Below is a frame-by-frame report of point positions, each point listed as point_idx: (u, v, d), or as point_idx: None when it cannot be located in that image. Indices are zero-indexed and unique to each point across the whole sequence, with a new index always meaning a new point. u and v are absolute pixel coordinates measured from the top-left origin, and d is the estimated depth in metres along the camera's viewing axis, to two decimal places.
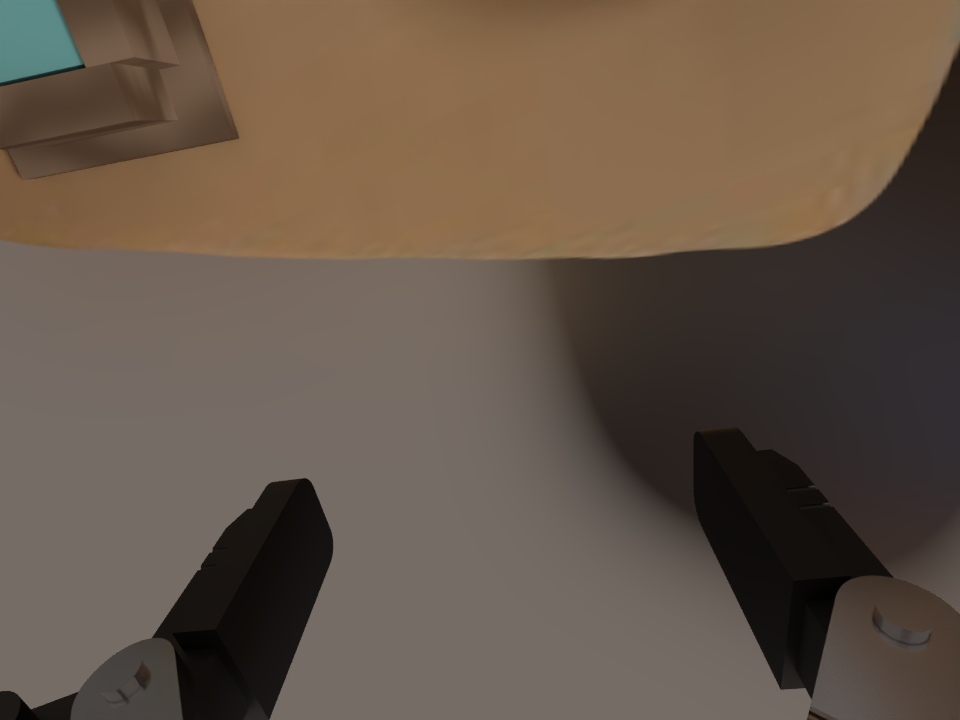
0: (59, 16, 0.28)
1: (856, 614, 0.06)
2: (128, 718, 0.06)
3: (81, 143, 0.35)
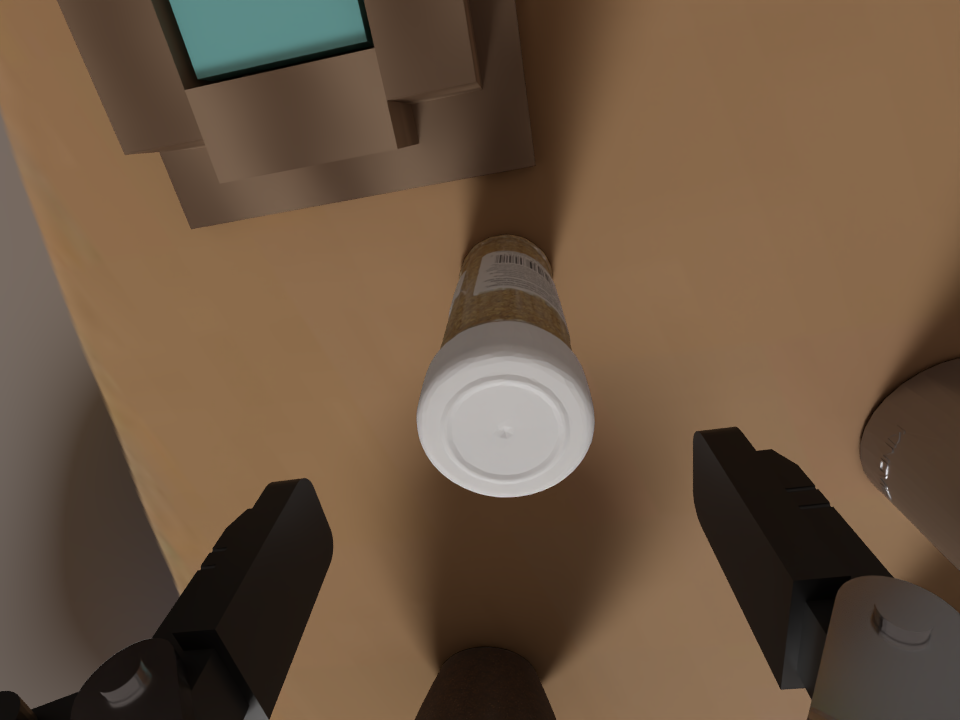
0: (259, 54, 0.17)
1: (856, 614, 0.06)
2: (128, 718, 0.06)
3: None
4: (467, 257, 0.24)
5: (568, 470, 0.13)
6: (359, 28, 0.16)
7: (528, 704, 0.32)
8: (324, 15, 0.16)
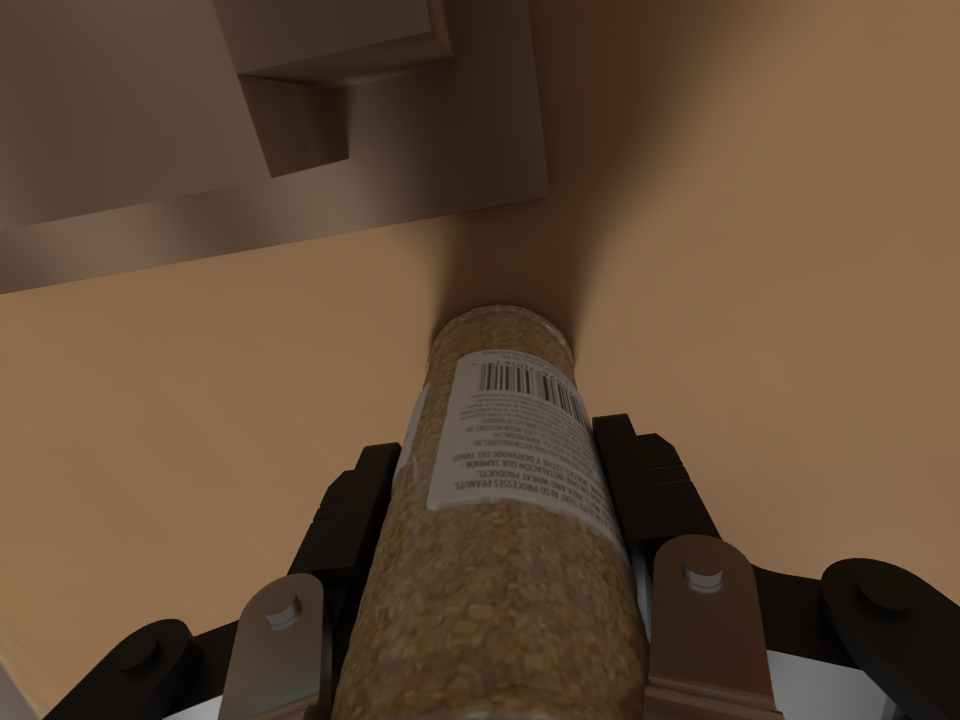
0: None
1: (668, 565, 0.07)
2: (278, 646, 0.07)
3: None
4: (437, 340, 0.15)
5: None
6: None
7: None
8: None
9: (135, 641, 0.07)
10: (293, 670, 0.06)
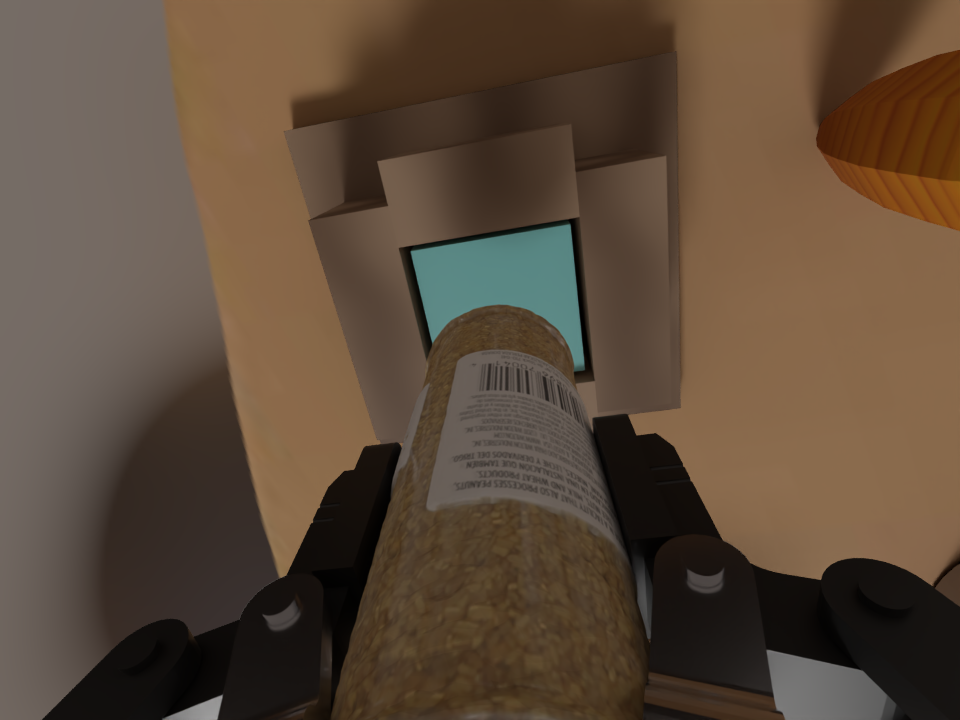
0: None
1: (668, 564, 0.07)
2: (278, 646, 0.07)
3: None
4: (437, 340, 0.15)
5: None
6: (580, 362, 0.21)
7: None
8: None
9: (135, 642, 0.07)
10: (293, 670, 0.06)
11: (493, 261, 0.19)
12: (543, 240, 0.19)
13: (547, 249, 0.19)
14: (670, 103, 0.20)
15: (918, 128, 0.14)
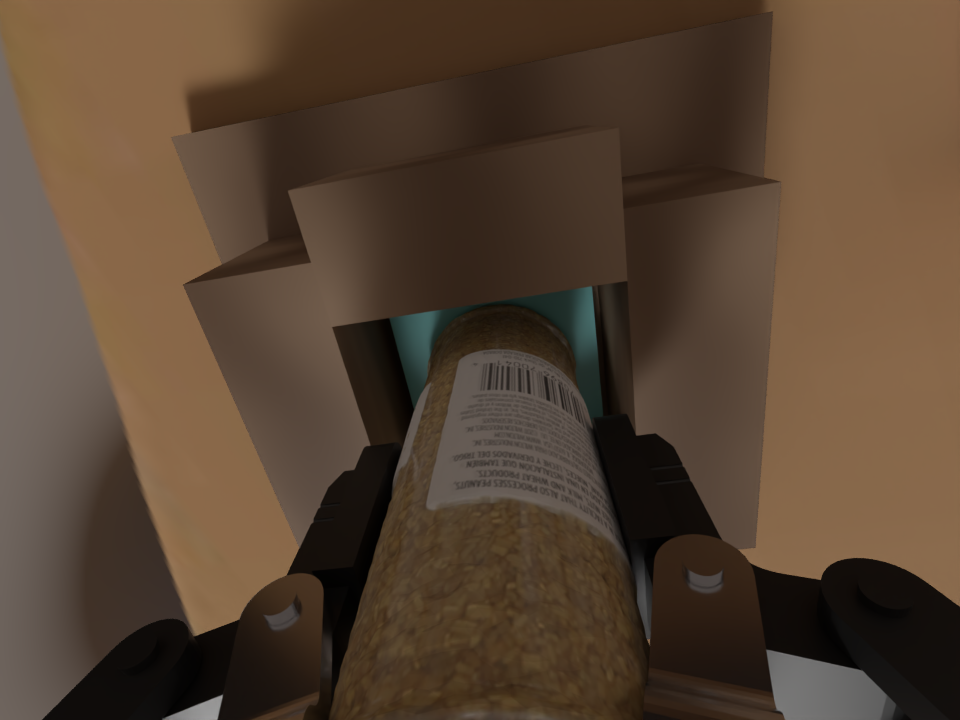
0: None
1: (668, 564, 0.07)
2: (278, 646, 0.07)
3: None
4: (439, 340, 0.15)
5: None
6: None
7: None
8: None
9: (135, 642, 0.07)
10: (293, 670, 0.06)
11: (488, 303, 0.15)
12: None
13: None
14: (758, 94, 0.13)
15: None
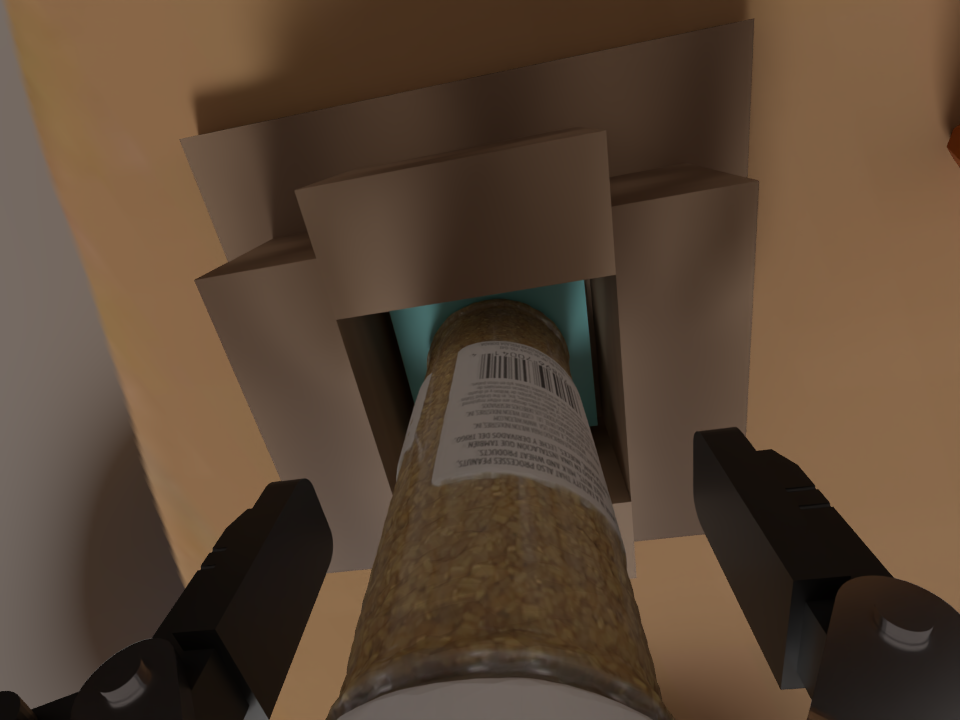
0: None
1: (856, 614, 0.06)
2: (128, 718, 0.06)
3: None
4: (438, 333, 0.15)
5: None
6: (592, 416, 0.17)
7: None
8: None
9: None
10: None
11: (485, 298, 0.15)
12: None
13: None
14: (741, 97, 0.14)
15: None
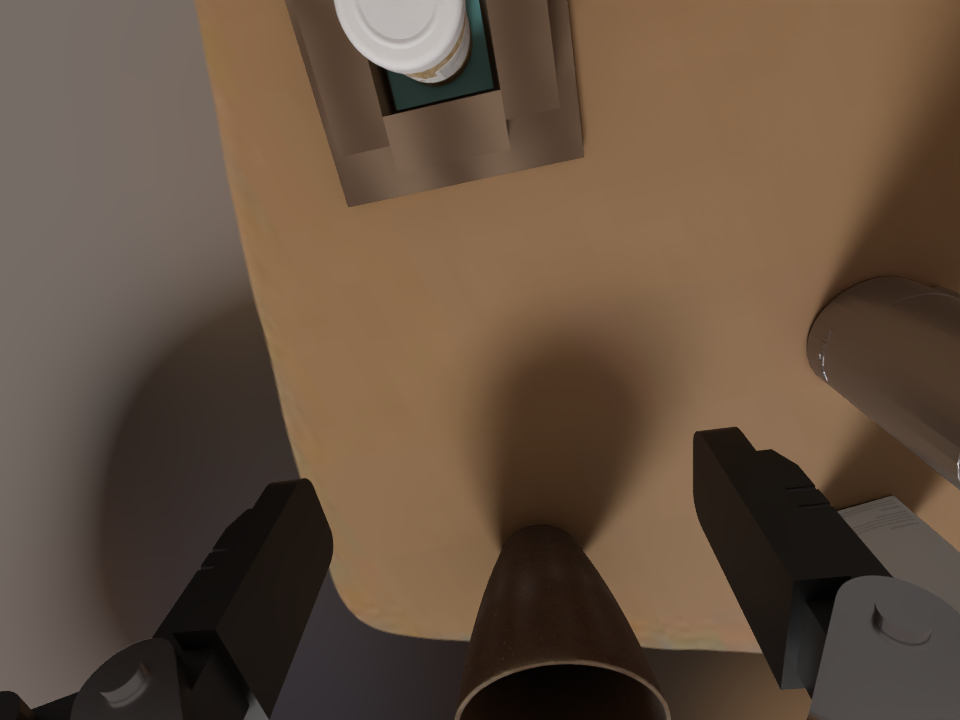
0: (433, 95, 0.30)
1: (856, 614, 0.06)
2: (128, 718, 0.06)
3: None
4: None
5: (447, 31, 0.18)
6: (489, 81, 0.30)
7: (576, 554, 0.43)
8: (471, 74, 0.30)
9: None
10: None
11: None
12: None
13: None
14: None
15: None
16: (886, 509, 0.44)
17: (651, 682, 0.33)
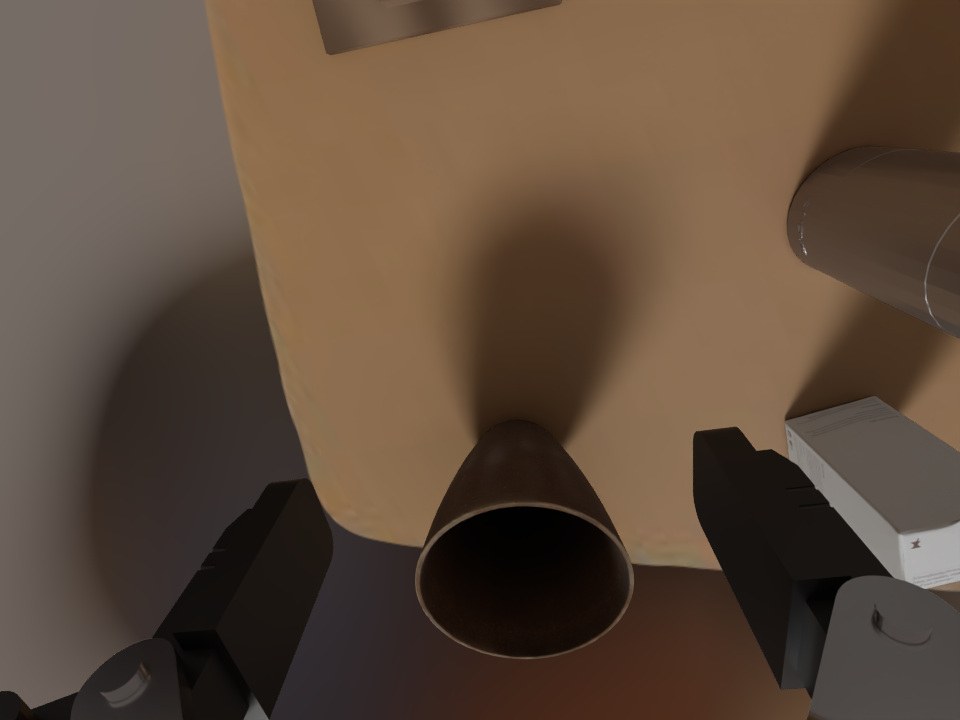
0: None
1: (856, 614, 0.06)
2: (128, 718, 0.06)
3: None
4: None
5: None
6: None
7: (550, 439, 0.43)
8: None
9: None
10: None
11: None
12: None
13: None
14: None
15: None
16: (866, 407, 0.44)
17: (614, 533, 0.33)
